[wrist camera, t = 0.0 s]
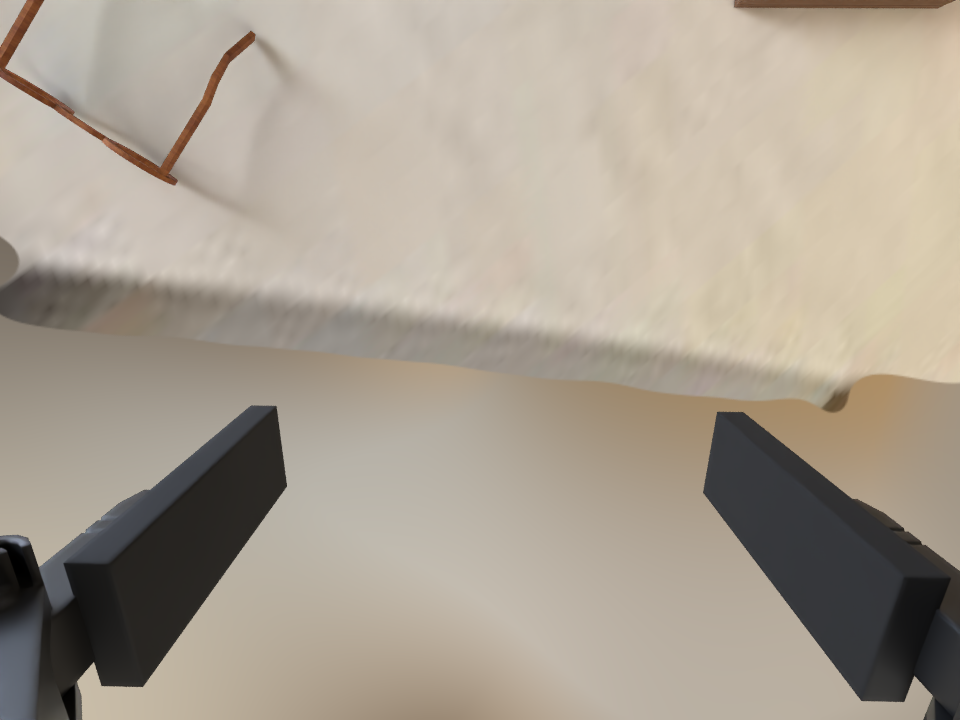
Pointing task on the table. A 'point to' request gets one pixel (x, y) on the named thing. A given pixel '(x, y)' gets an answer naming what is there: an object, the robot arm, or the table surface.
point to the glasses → (4, 54)
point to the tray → (841, 3)
